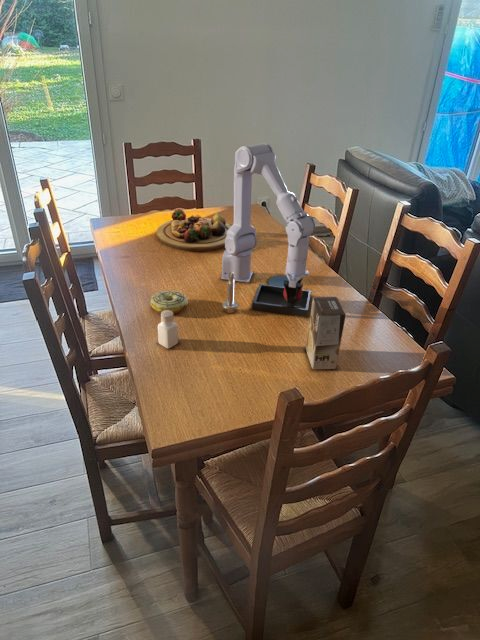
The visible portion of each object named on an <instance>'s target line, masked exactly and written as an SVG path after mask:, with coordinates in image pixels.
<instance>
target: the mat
mask: <svg viewBox="0 0 480 640" xmlns="http://www.w3.org/2000/svg"><path fill="white" fill-rule="evenodd" d="M284 280H286V281H289V280H288V278H287V276H286V275H276V276H275V275H274V276H272V277H270V278H269V279H268V282H267V283H268V284H267V285H272V286H280V287H284V284H283V283H284Z"/></svg>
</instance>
